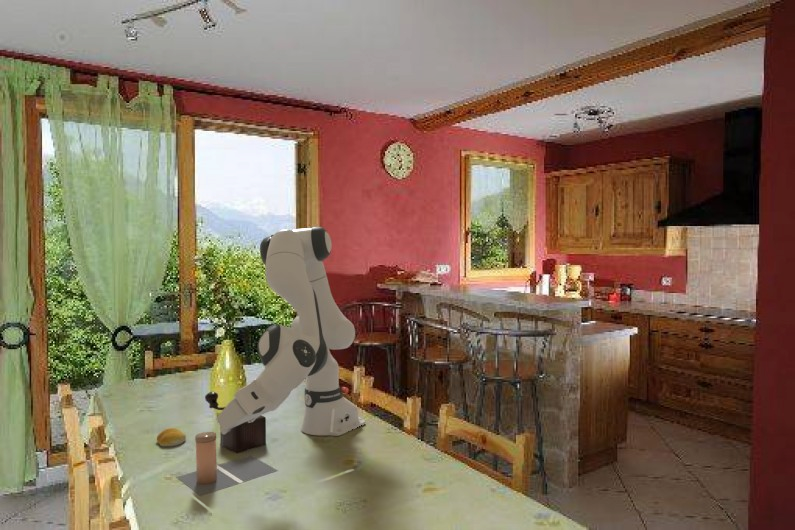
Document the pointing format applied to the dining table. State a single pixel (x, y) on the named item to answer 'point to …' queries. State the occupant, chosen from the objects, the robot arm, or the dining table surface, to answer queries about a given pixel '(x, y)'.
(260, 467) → the throwing lane
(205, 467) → the terracotta jar
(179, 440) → the bread roll
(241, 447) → the manual coffee grinder
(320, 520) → the dining table surface
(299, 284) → the robot arm
